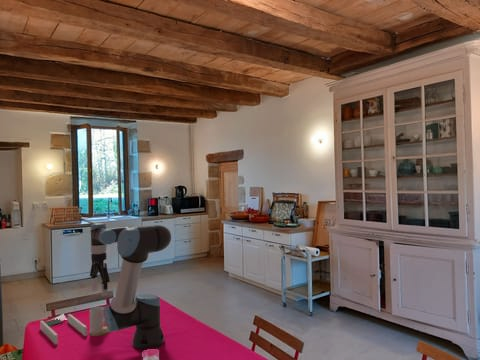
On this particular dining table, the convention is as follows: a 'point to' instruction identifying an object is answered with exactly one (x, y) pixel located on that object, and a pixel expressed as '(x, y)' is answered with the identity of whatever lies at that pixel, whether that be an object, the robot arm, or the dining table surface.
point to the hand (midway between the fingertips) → (99, 292)
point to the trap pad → (53, 322)
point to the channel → (71, 320)
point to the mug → (96, 320)
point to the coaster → (105, 331)
